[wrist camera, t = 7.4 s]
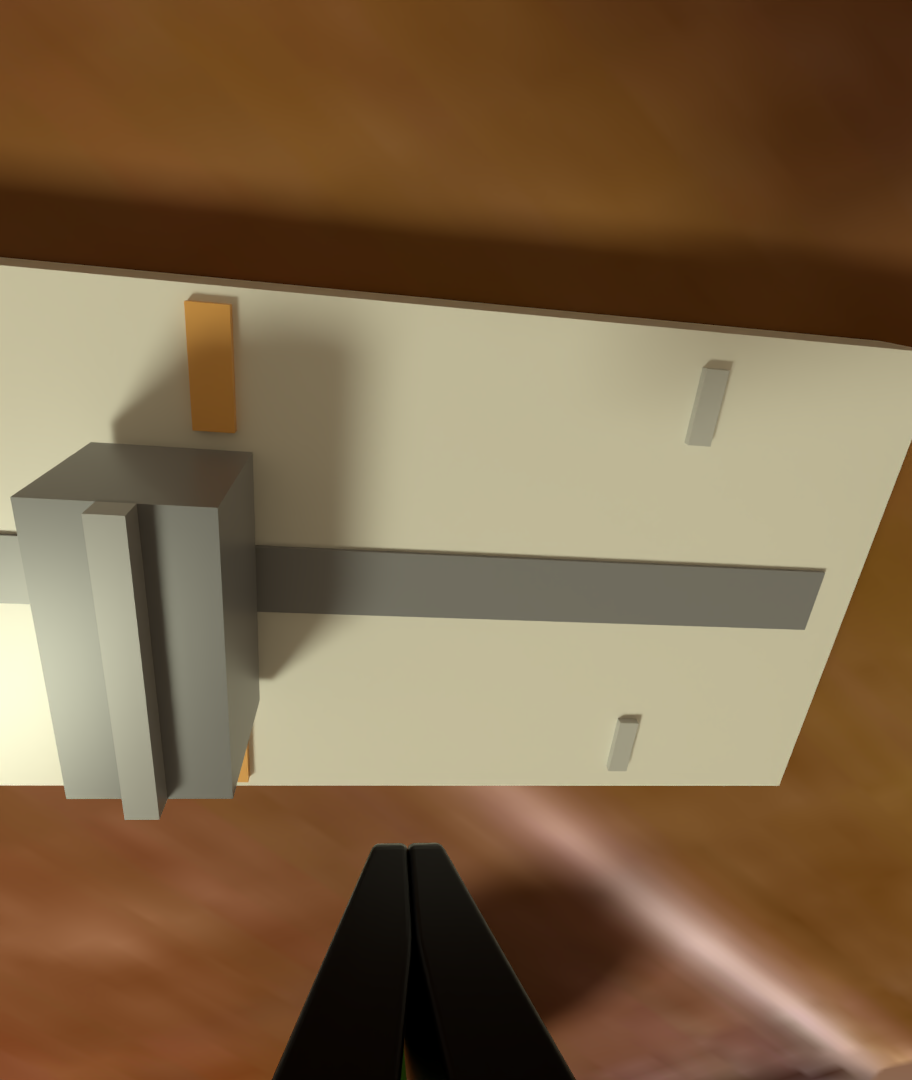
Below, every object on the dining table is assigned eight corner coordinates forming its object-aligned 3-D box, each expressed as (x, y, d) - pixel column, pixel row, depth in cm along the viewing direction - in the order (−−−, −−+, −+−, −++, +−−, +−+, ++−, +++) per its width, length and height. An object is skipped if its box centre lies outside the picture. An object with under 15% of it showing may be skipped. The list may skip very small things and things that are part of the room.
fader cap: (252, 452, 13) (210, 519, 10) (259, 699, 15) (227, 819, 12) (91, 442, 13) (-8, 509, 9) (124, 697, 15) (54, 819, 12)
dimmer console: (879, 341, 16) (951, 355, 14) (744, 737, 21) (782, 790, 19) (-137, 243, 13) (-232, 244, 11) (-20, 730, 18) (-70, 791, 16)
